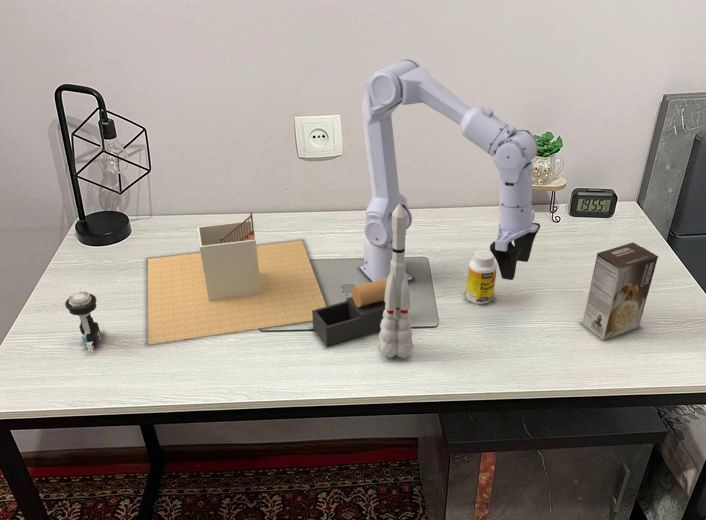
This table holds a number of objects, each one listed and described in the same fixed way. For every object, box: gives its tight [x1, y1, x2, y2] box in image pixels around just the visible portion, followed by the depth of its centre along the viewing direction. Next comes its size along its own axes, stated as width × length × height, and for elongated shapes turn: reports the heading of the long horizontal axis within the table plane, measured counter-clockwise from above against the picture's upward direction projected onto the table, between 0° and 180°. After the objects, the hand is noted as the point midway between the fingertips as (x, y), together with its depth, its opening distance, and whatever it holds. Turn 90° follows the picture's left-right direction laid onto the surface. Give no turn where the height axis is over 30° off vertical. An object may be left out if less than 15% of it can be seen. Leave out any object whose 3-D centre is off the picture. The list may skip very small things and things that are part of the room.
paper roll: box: [351, 278, 387, 307], centre depth 132 cm, size 4×7×4 cm, turn 117°
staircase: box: [196, 211, 263, 302], centre depth 142 cm, size 9×11×17 cm
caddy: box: [312, 296, 386, 348], centre depth 134 cm, size 7×13×5 cm, turn 117°
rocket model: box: [378, 203, 414, 359], centre depth 120 cm, size 7×7×30 cm
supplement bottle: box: [465, 249, 498, 305], centre depth 141 cm, size 6×6×10 cm
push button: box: [64, 291, 102, 352], centre depth 128 cm, size 7×5×10 cm
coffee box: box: [581, 242, 659, 341], centre depth 131 cm, size 9×6×16 cm
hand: (515, 269), depth 132 cm, fingers open, 7 cm apart
